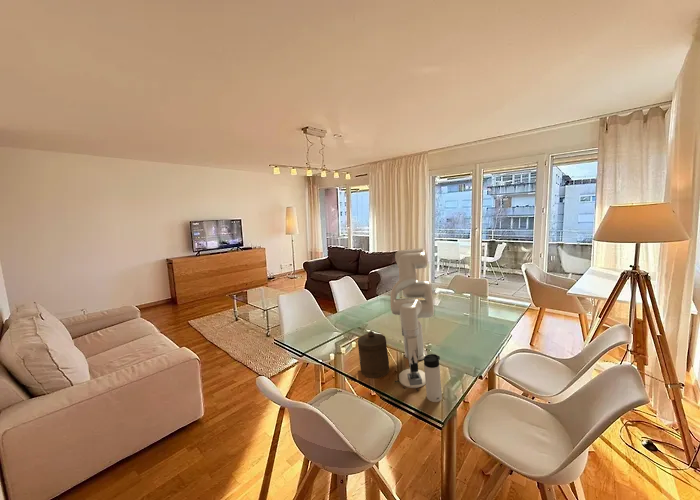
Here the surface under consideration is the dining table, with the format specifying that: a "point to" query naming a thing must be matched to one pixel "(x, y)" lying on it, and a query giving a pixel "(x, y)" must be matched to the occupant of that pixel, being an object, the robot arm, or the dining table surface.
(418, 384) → the dial
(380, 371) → the wooden container
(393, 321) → the dining table surface
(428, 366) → the travel mug
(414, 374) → the peg
